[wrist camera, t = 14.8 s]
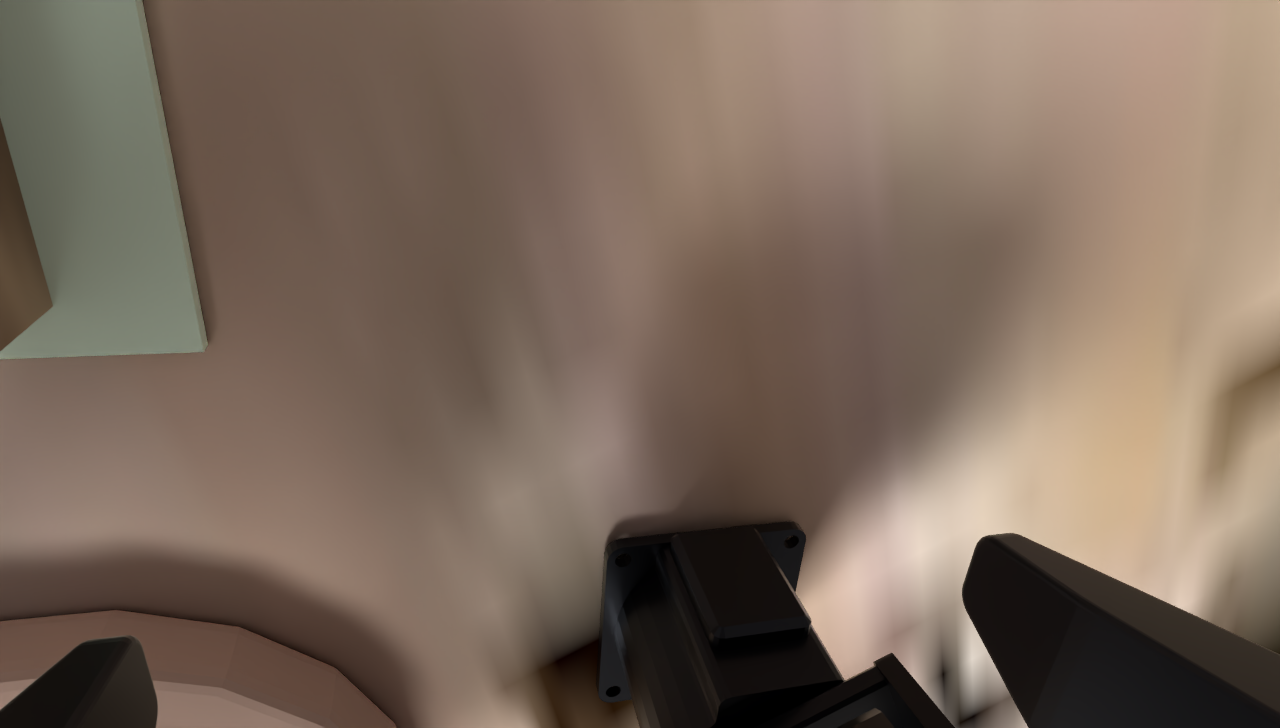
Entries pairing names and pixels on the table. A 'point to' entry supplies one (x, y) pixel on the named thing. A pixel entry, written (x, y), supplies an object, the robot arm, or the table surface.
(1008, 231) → the table surface
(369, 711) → the hourglass
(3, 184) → the turner
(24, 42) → the mat
